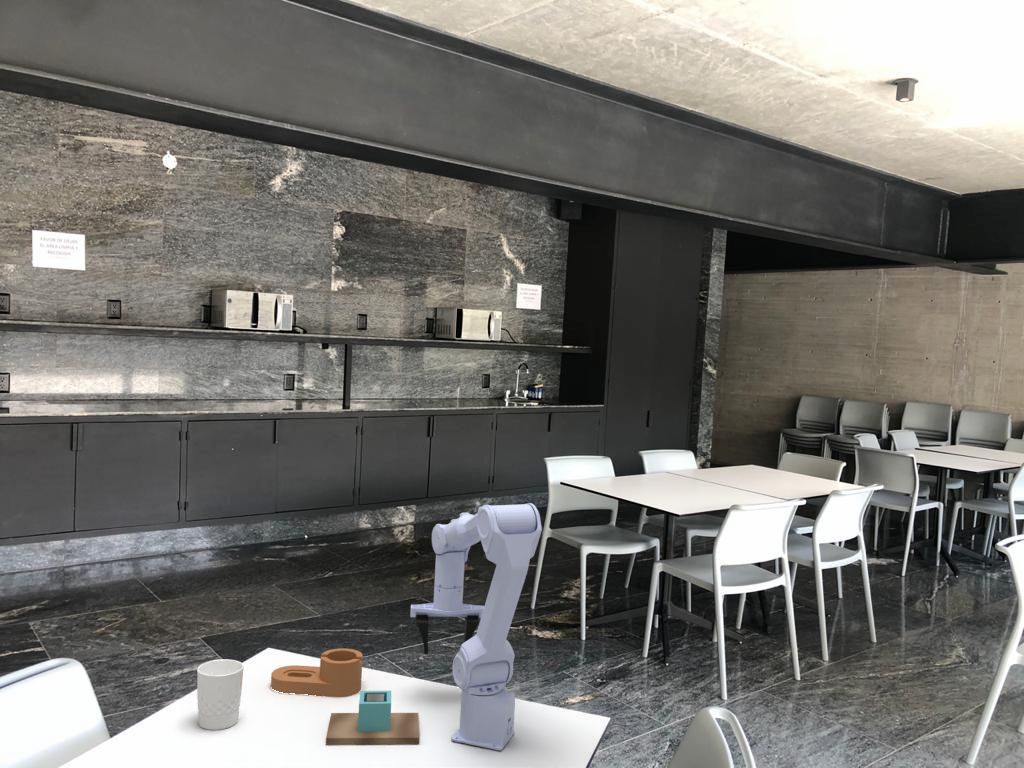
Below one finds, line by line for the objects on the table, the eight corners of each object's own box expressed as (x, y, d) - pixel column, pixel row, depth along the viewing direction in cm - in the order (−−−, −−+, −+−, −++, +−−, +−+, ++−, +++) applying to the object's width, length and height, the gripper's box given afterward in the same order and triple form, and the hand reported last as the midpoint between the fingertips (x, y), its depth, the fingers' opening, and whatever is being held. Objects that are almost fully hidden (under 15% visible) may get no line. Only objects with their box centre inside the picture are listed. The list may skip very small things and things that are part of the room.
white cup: (222, 735, 143) (224, 678, 142) (185, 726, 145) (187, 670, 145) (250, 717, 150) (252, 663, 150) (214, 709, 153) (217, 656, 152)
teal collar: (389, 717, 150) (391, 690, 150) (389, 731, 145) (391, 703, 145) (358, 717, 150) (360, 690, 150) (357, 731, 144) (359, 703, 144)
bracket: (364, 682, 169) (366, 649, 169) (355, 699, 161) (357, 664, 161) (278, 677, 170) (279, 644, 169) (265, 693, 161) (266, 658, 161)
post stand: (418, 719, 153) (419, 686, 153) (418, 744, 143) (420, 709, 143) (330, 719, 151) (332, 686, 151) (325, 745, 141) (327, 709, 141)
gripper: (483, 579, 167) (480, 645, 167) (411, 578, 165) (408, 645, 165) (486, 589, 160) (483, 658, 160) (412, 588, 158) (408, 657, 158)
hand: (445, 652), depth 162 cm, fingers open, 7 cm apart
